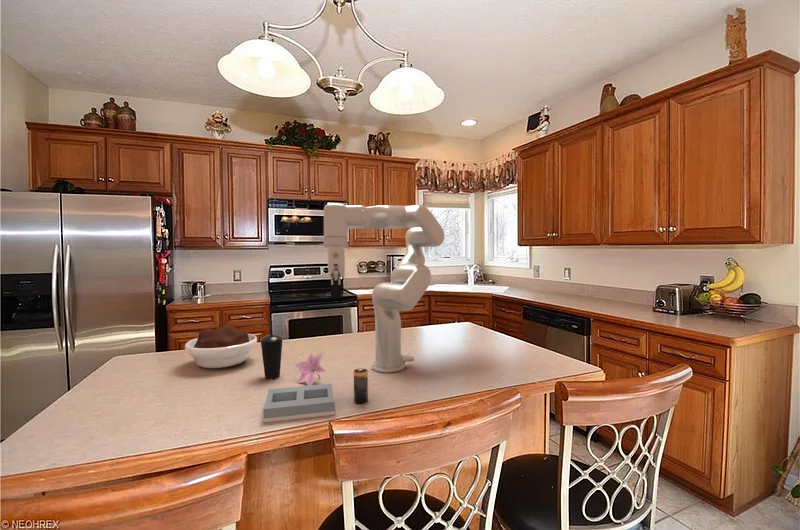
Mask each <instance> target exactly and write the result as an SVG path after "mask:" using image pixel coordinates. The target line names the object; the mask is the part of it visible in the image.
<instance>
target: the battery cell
mask: <svg viewBox="0 0 800 530" xmlns="http://www.w3.org/2000/svg"><path fill="white" fill-rule="evenodd" d="M368 373H369V371H368V369H366V368H362V367H359V368H356V369H354V370H353V402H354V403H355V405H356V404H357V405H364V404H367V403H368V402H369V386H368V385H369V380H368V378H369V375H368Z"/></svg>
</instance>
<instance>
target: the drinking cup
mask: <svg viewBox="0 0 800 530" xmlns="http://www.w3.org/2000/svg"><path fill="white" fill-rule="evenodd" d="M269 323H270V324H269V326H270V327H269V329H270V330H269V331H270V334H267V335H264V336H263V337H261V338H260V339H259V342H260V345H261V354H262V362H263V370H264V371H263V372H264V379H265V378H266V379H265V380H268V379H272V380H276V378H277V379H279V378H280V377H281V364H282V351H283V349H282V348H283V340H284V336H282V335H279V334H273V333H274V332H273V319H270V320H269ZM278 377H279V378H278Z"/></svg>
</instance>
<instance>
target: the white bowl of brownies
mask: <svg viewBox="0 0 800 530" xmlns="http://www.w3.org/2000/svg"><path fill="white" fill-rule="evenodd" d="M257 343H258V337H257V336H256V335H254V334H252V333H248V332H247V331H246V329H240V330H238V329H237V328H236V327H235V326H233V325H231V324H226V325H223V326H222V327H220V328H219V329H212V328H206V329H201V330H200V331H199V332H198V335H197V337H196V338H193V339H190V340H188V341H187V342H186V343H185V345H184V349H185V351H186V353H187V354H188V355H189V357H191V358H193V360H194V362H195V363H196V365H197V366H199V367H201V368H205V369H219V368H220V369H222V367H223V368H228V367H233V366H237V365H240V364H241V363H243V362H245V361H246V360H247V359H248V358H249V355H250V353H251V351H253V349H254V348H255V346H256V344H257Z"/></svg>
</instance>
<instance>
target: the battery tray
mask: <svg viewBox="0 0 800 530" xmlns="http://www.w3.org/2000/svg"><path fill="white" fill-rule="evenodd" d="M265 399H266V400H265V402H264V404H263V405H264V406H263V408H262V409H263V412H262V413H263V417H262V418H263V423H271V422H280V421H288V420H289V421H290V420H299V419H307V418H316V417H317V418H318V417H328V416H334V415H335V414H336V413H335V411H336V410H335V405H336V403H335V397H334V391H333V384H332V383H322V384H321V383H320V384H313V385H309V386H308V385H301V386H289V387H278V388H269V389H268V392H267V395H266V398H265Z"/></svg>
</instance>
